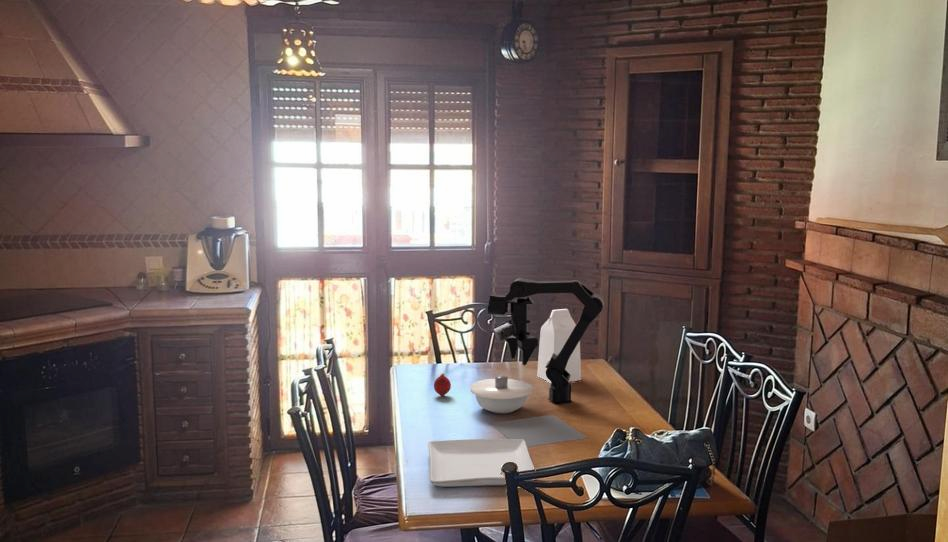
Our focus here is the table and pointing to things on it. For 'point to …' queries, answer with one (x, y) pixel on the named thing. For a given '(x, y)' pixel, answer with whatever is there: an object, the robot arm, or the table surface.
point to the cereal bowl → (501, 404)
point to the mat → (538, 430)
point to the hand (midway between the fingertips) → (518, 361)
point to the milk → (558, 343)
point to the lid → (501, 388)
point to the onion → (442, 385)
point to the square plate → (475, 461)
